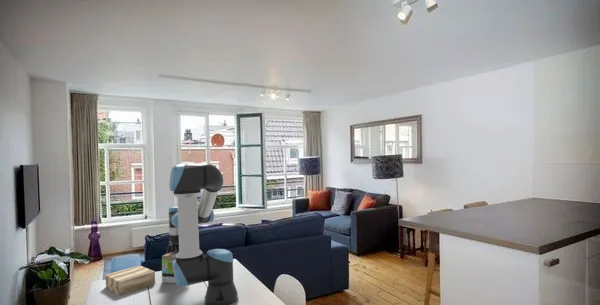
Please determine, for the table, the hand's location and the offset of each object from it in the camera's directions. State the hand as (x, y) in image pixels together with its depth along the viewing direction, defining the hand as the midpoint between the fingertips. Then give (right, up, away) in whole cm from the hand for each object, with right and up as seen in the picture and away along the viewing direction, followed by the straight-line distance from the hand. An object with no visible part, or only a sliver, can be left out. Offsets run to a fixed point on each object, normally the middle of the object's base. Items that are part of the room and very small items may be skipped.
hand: (177, 271), depth 181 cm
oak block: (-22, -5, -8) cm, 24 cm away
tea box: (0, -4, 0) cm, 4 cm away
